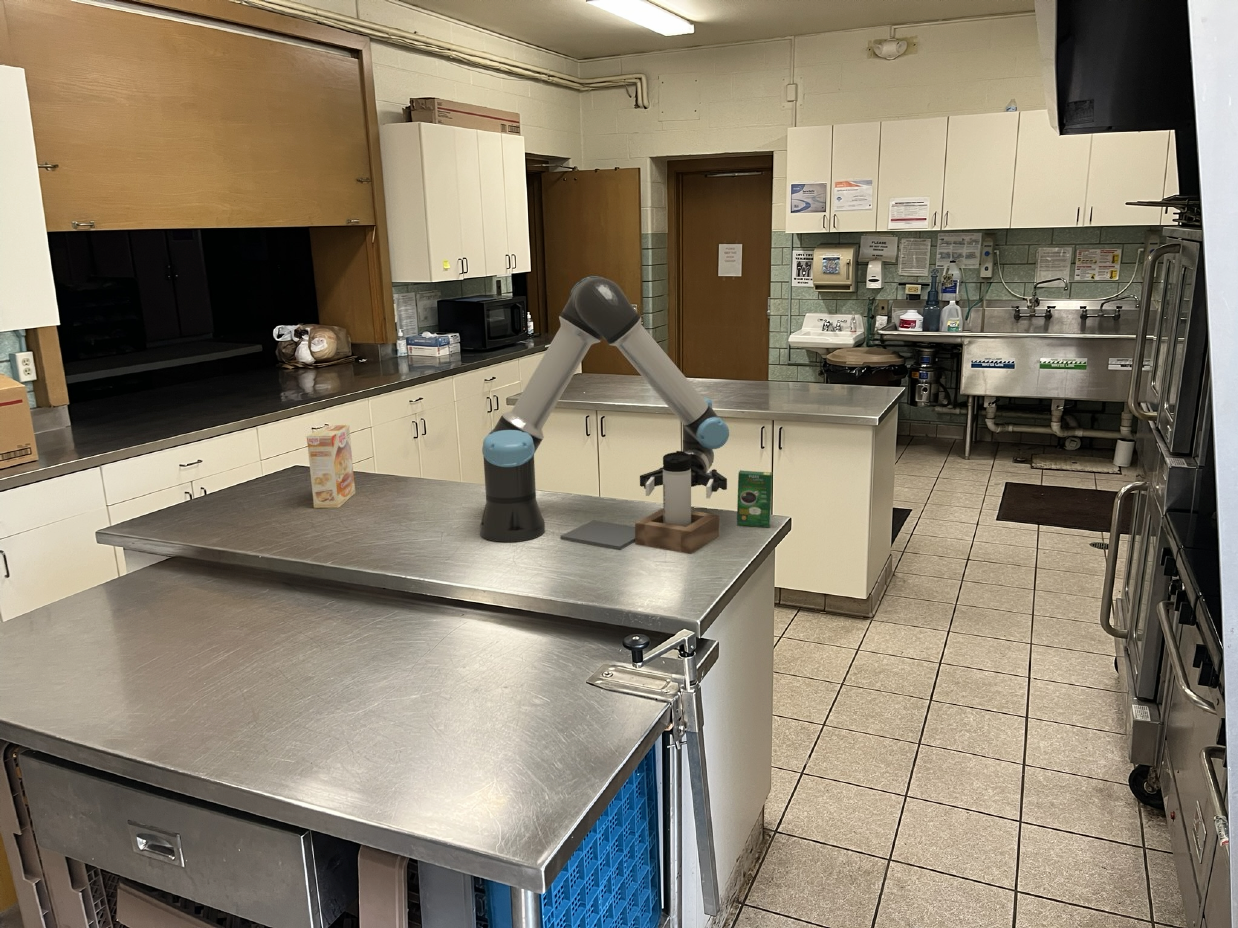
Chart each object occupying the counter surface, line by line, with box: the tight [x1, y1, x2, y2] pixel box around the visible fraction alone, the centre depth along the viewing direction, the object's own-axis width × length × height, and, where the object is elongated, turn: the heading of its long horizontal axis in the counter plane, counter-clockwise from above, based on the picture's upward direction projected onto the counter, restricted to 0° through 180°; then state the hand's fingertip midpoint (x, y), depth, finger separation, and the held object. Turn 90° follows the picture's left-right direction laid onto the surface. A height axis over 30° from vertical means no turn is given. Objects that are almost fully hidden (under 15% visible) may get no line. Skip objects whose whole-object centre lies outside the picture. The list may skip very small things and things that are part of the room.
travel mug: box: [662, 450, 692, 527], centre depth 197 cm, size 6×7×20 cm
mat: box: [559, 519, 635, 551], centre depth 204 cm, size 16×14×1 cm
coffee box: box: [736, 469, 773, 528], centre depth 207 cm, size 8×3×13 cm, turn 74°
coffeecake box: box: [306, 424, 356, 509], centre depth 237 cm, size 15×7×20 cm, turn 179°
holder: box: [634, 507, 720, 555], centre depth 199 cm, size 14×14×5 cm
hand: (677, 491), depth 195 cm, fingers open, 13 cm apart
